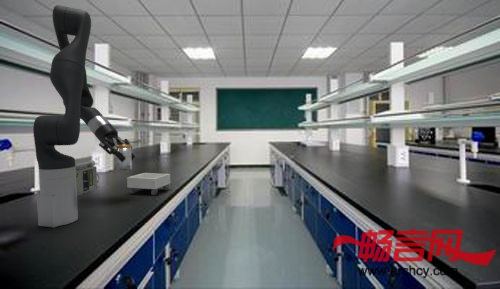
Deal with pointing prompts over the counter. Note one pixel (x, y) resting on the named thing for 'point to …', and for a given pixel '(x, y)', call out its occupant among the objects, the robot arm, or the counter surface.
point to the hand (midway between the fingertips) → (128, 159)
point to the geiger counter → (86, 177)
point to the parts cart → (148, 182)
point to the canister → (126, 151)
